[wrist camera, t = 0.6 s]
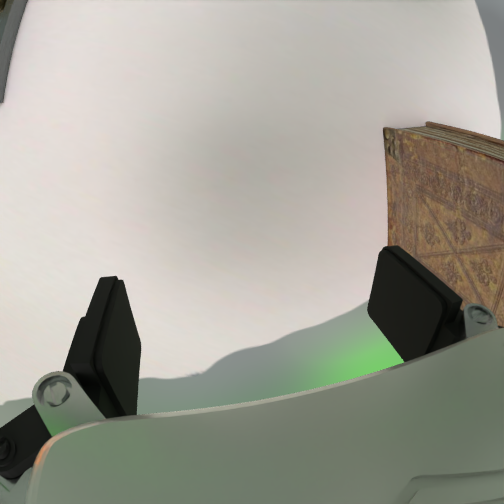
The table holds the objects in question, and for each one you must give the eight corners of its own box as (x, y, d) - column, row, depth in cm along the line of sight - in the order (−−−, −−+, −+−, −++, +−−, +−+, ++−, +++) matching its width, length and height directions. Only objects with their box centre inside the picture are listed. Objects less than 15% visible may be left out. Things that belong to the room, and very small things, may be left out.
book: (382, 125, 38) (579, 190, 12) (427, 121, 39) (600, 178, 13) (386, 275, 50) (500, 397, 24) (425, 260, 51) (538, 362, 25)
